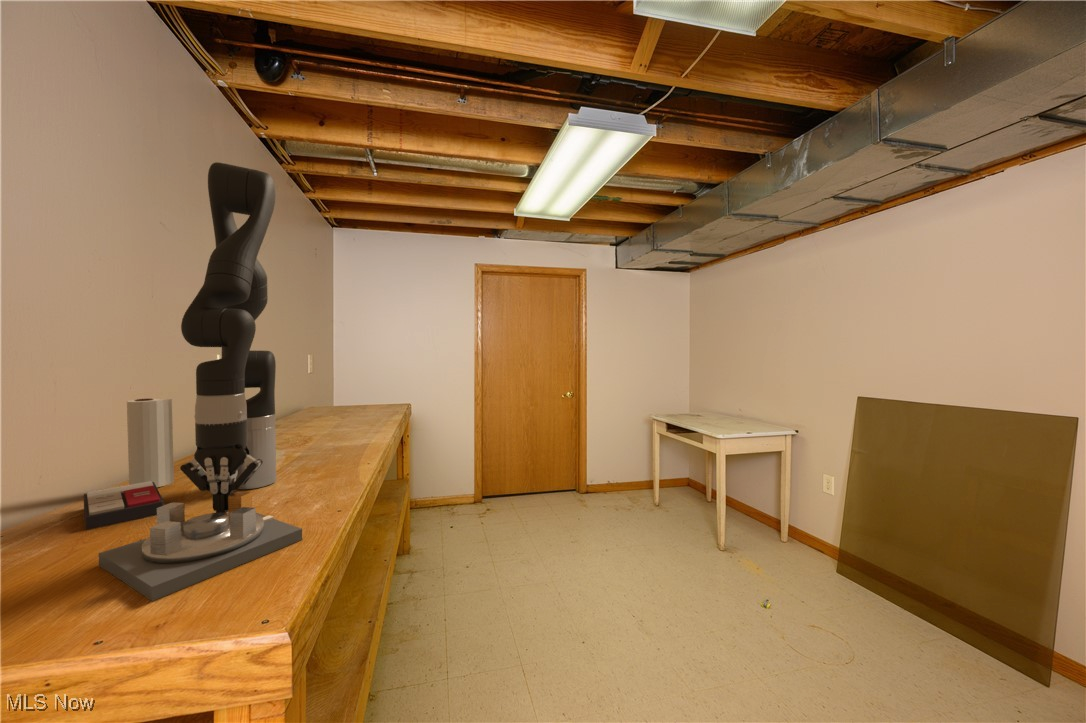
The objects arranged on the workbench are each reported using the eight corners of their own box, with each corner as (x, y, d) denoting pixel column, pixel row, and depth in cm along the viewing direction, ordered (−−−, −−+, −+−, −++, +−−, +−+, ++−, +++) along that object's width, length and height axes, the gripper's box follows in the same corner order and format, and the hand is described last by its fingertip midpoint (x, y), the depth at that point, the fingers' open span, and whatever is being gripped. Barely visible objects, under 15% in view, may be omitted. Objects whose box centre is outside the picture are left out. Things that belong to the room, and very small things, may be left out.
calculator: (85, 513, 79) (83, 490, 89) (86, 535, 79) (83, 509, 89) (163, 497, 87) (154, 478, 97) (164, 518, 88) (154, 496, 98)
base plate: (98, 565, 67) (98, 550, 67) (244, 518, 85) (244, 506, 85) (152, 601, 58) (151, 584, 58) (302, 539, 76) (302, 526, 76)
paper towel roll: (121, 490, 100) (119, 400, 99) (149, 482, 106) (146, 397, 105) (148, 492, 99) (145, 401, 98) (174, 484, 105) (172, 398, 104)
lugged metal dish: (148, 533, 73) (147, 504, 73) (260, 512, 83) (259, 485, 83) (134, 574, 60) (133, 538, 60) (268, 543, 70) (267, 512, 70)
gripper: (271, 414, 82) (272, 502, 83) (194, 415, 80) (196, 506, 81) (251, 421, 75) (253, 518, 76) (165, 423, 72) (168, 522, 73)
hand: (223, 511), depth 78 cm, fingers closed
